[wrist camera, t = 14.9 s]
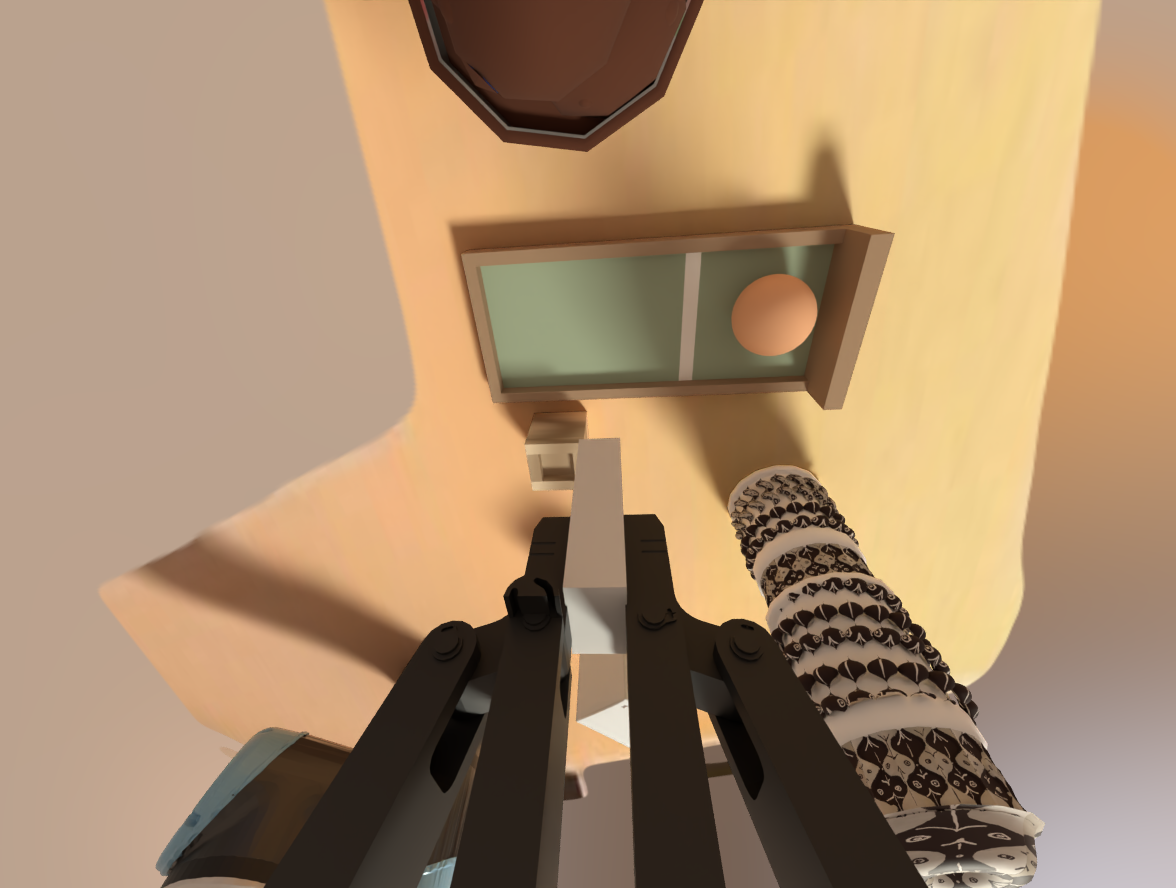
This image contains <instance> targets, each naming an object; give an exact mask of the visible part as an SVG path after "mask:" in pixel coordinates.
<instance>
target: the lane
mask: <svg viewBox="0 0 1176 888" xmlns="http://www.w3.org/2000/svg"><path fill="white" fill-rule="evenodd" d="M894 234H895V233H891V232H886V231H882V230H877V229H873V228H868V227H864V226H859V225H855V224H852V225H837V226H822V227H807V228H792V229H777V230H762V231H747V232H732V233H717V234H702V235H687V236H672V237H657V238H642V239H627V240H612V241H597V242H582V243H567V244H552V245H537V246H522V247H507V248H492V249H477V250H467V251H466V252H464V253H462V254H461V257H462V262H463V266H464V271H465V276H466V280H467V285H468V290H469V294H470V299H471V304H472V308H473V313H474V318H475V322H476V327H477V332H478V336H479V341H480V346H481V350H482V355H483V360H484V364H485V369H486V374H487V378H488V383H489V388H490V392H491V397H492V401H493V403H511V402H537V401H563V400H589V399H615V398H641V397H667V396H693V395H719V394H745V393H771V392H797V391H807V392H808V393H809V394H810V395H811V396H812V397H813V399H814V400H815V401H816V402H817V403H818V404H819V405H820V407H821V408H822V409H823V410H834V409H842V407H843V403H844V400H845V397H846V393H847V390H848V387H849V383H850V380H851V377H852V374H853V370H854V367H855V364H856V360H857V357H858V354H859V350H860V347H861V344H862V340H863V337H864V334H865V330H866V327H867V324H868V320H869V317H870V314H871V310H872V307H873V304H874V301H875V297H876V294H877V291H878V287H879V284H880V281H881V277H882V274H883V271H884V267H885V264H886V261H887V257H888V254H889V251H890V247H891V244H892V241H893V237H894ZM772 274H786V275H791V276H794V277H796V278H798V279H800V280H802V281H803V282H805V283H806V284H807V285H808V286H809V288H810V289H811V290H812V292H813V294H814V296H815V299H816V302H817V318H816V322H815V325H814V327H813V329H812V331H811V333H810V334H809V336H808V337H807V338H806V339H805V341H804V342H803V343H801V344H800V345H799V346H798V347H796V348H795V349H793V350H791V351H789V352H787V353H784V354H781V355H777V356H762V355H758V354H755V353H752V352H750V351H749V350H747V349H745V348H744V347H743V346H742V345H741V344H740V343H739V342H738V340H737V339H736V337H735V335H734V332H733V329H732V322H731V317H732V311H733V307H734V304H735V302H736V300H737V298H738V297H739V295H740V294H741V292H742V291H743V290H744V289H745V288H746V287H747V286H748V285H750V284H751V283H752V282H754V281H756V280H757V279H759V278H762V277H764V276H768V275H772Z"/></svg>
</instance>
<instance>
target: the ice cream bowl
mask: <svg viewBox="0 0 1176 888" xmlns="http://www.w3.org/2000/svg"><path fill="white" fill-rule="evenodd" d="M408 1H409V4H410V7H411V10H412V13H413V16H414V19H415V23H416V26H417V29H418V32H419V35H420V38H421V41H422V44H423V48H424V51H425V54H426V57H427V60H428V63H429V66H430V69H431V70H432V71H433V72H434V73H435V74H436V75H437V76H438V77H439V78H440V79H441V80H442V81H443V82H444V83H445V84H446V85H447V86H448V87H449V88H450V89H451V90H452V91H453V92H454V93H455V94H456V95H457V96H458V97H459V98H460V99H461V100H462V101H463V102H464V103H465V104H466V105H467V106H468V107H469V108H470V109H471V110H472V111H473V112H474V113H475V114H476V115H477V116H478V117H479V118H480V119H481V120H482V121H483V122H484V123H485V124H486V125H487V126H488V127H489V128H490V129H491V130H492V131H493V132H494V133H495V134H496V135H497V136H498V137H499V138H500V139H501V140H502V141H503V142H507V143H516V144H524V145H533V146H542V147H550V148H559V149H568V150H576V151H585V152H588V151H589V150H590V149H592V148H593V147H595V146H596V145H597V144H599V143H600V142H601V141H603V140H604V139H606V138H607V137H608V136H610V135H611V134H613V133H614V132H615V131H617V130H618V129H619V128H621V127H622V126H624V125H625V124H626V123H628V122H629V121H631V120H632V119H633V118H635V117H636V116H637V115H639V114H640V113H642V112H643V111H644V110H646V109H647V108H649V107H650V106H651V105H653V104H654V103H655V102H657V101H658V100H660V99H661V98H662V97H664V95H665V93H666V90H667V88H668V85H669V83H670V81H671V78H672V76H673V73H674V71H675V69H676V66H677V64H678V61H679V59H680V56H681V54H682V52H683V49H684V47H685V44H686V42H687V40H688V37H689V35H690V32H691V30H692V28H693V25H694V23H695V20H696V18H697V15H698V13H699V11H700V8H701V6H702V3H703V1H704V0H408Z"/></svg>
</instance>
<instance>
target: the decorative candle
mask: <svg viewBox="0 0 1176 888" xmlns="http://www.w3.org/2000/svg"><path fill="white" fill-rule="evenodd" d="M727 508H728V511H729V514H730V516H731V519H732V523H731V524H732V526H733V527H735V529H736V530H739V531H737V532H736V535H735V536H736V538H737V539H741V544H740V546H741V552H742V554H743V555H744V556H745V557H746V567H747V569H748V570H749V571H751V573H750V574H751V577H752V578H753V579H754V580H756V581H757V584H758V587H759V590H760V592H761V595H762V596H763V597H764V598H765V600H766V603H767V605H768V608H769V609H768V612H767V615H766V621H767V624H768V626H769V629H770V632H771V636H772V638H773V639H774V640H775V642H776V644H777V645H778V647H779V648H780V650H781V652H782V653H783V655H784V656H785V658H786V660H787V661H788V663H789V664H790V666H791V668H792V669H793V671H794V672H795V674H796V676H797V677H798V679H799V680H800V682H801V684H802V685H803V687H804V688H805V690H806V692H807V693H808V695H809V696H810V698H811V700H812V701H813V703H814V705H815V706H816V708H817V709H818V711H819V713H820V714H821V716H822V717H823V719H824V721H825V722H826V724H827V725H828V727H829V729H830V730H831V732H832V733H833V735H834V737H835V738H836V740H837V741H838V743H839V745H840V746H841V748H842V749H843V751H844V753H845V754H846V756H847V758H848V759H849V761H850V762H851V764H852V766H853V767H854V769H855V770H856V772H857V774H858V775H859V777H860V778H861V780H862V782H863V783H864V785H865V786H866V788H867V790H868V791H869V793H870V794H871V796H872V798H873V799H874V801H875V802H876V804H877V806H878V807H879V809H880V810H881V812H882V814H883V815H884V817H885V819H886V820H887V822H888V823H889V825H890V827H891V828H892V830H893V831H894V833H895V835H896V836H897V838H898V839H899V841H900V843H901V844H902V846H903V847H904V849H905V851H906V852H907V854H908V855H909V857H910V859H911V860H912V862H913V863H914V865H915V867H916V868H917V870H918V871H919V873H920V875H921V876H922V878H923V880H924V881H925V883H926V884H927V886H928V888H1019V887H1021V886H1023V885H1025V884H1027V883H1029V882H1030V881H1031V880H1032V878H1033V876H1034V874H1035V871H1036V867H1037V856H1036V849H1035V840H1034V839H1035V838H1037V837H1038V836H1040V835H1041V833H1042V830H1043V827H1044V825H1045V823H1044V822H1042V821H1041V820H1040V819H1039V818H1038V817H1036V816H1035V815H1034V814H1033V813H1030V812H1027V811H1026V810H1025V809H1024V808H1022V806H1021V805H1020V804H1019V802H1018V801H1017V798H1016V797H1015V795H1014V793H1013V791H1012V788H1011V787H1010V785H1009V784H1008V783H1007V781H1006V780H1005V778H1004V777H1003V775H1002V773H1001V771H1000V770H999V769H998V768H997V767H996V766H995V764H994V763H993V761H992V760H991V758H990V755H989V753H988V751H987V745H988V744H987V742H986V741H985V740H984V738H983V736H982V735H981V733H980V732H979V730H978V729H977V727H976V722H975V721H974V719H975V718H976V717H977V716H978V713H979V710H978V707H977V705H976V704H975V703H974V702H973V701H972V700H971V699H972V695H971V692H970V691H969V690H968V689H967V688H966V687H965V686H963V685H961V684H958V683H955V681H954V679H953V678H952V677H951V676H950V675H949V674H950V669H949V667H948V665H947V664H946V663H945V662H943V661H942V658H941V654H940V653H939V651H938V650H937V649H935V648H934V647H932V645H931V643H930V642H929V641H928V640H927V639H925V637H926V633H925V630H924V629H923V628H922V627H921V626H919V625H917V624H913V623H912V621H911V619H910V618H909V613H908V612H907V610H905V609H904V608H902V602H901V600H900V599H899V598H898V597H897V596H896V595H895V594H894V592H893V591H892V590H891V589H890V588H889V587H888V586H887V585H886V584H885V583H884V582H883V581H882V580H880V579H877V578H875V577H874V576H873V574H872V573H871V572H870V571H869V569H868V567H867V563H866V558H865V556H864V555H863V553H862V552H861V550H860V549H859V543H858V541H857V540H856V539H855V538H854V537H855V533H854V531H853V530H852V529H850V528H848V526H847V525H845V524H844V523H845V518H844V517H843V516H842V515H841V514H839V512H838V510H837V509H836V504H835V502H834V501H833V500H832V499H831V498H830V497H828V493H827V491H826V489H825V488H824V487H823V486H821V483H820V482H819V481H818V480H817V479H816V478H815V477H814V475H813V474H812V473H811V472H810V471H808V470H805V469H802V468H799V467H797V466H794V465H774V466H770V467H767V468H763V469H760V470H757V471H754V472H753V473H751V474H750V475H748V476H747V477H745V478H744V479H742V480H741V481H740V482H739V483H738V484H737V485H736V487H735V488H734V489H733V491H732V492H731V493H730V497H729V502H728V506H727ZM909 632H911V634H912V635H909ZM930 663H931V666H932V668H933V670H932V668H930ZM950 690H951V691H952V692H953V693H954V694H955V696H956V697H957V698H958V699H957V701H958V703H959V706H960V707H959V706H958V705H957V704H956V702H955V701H954V700H951V699H950V697H949V696H948V694H947V692H948V691H950Z"/></svg>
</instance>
